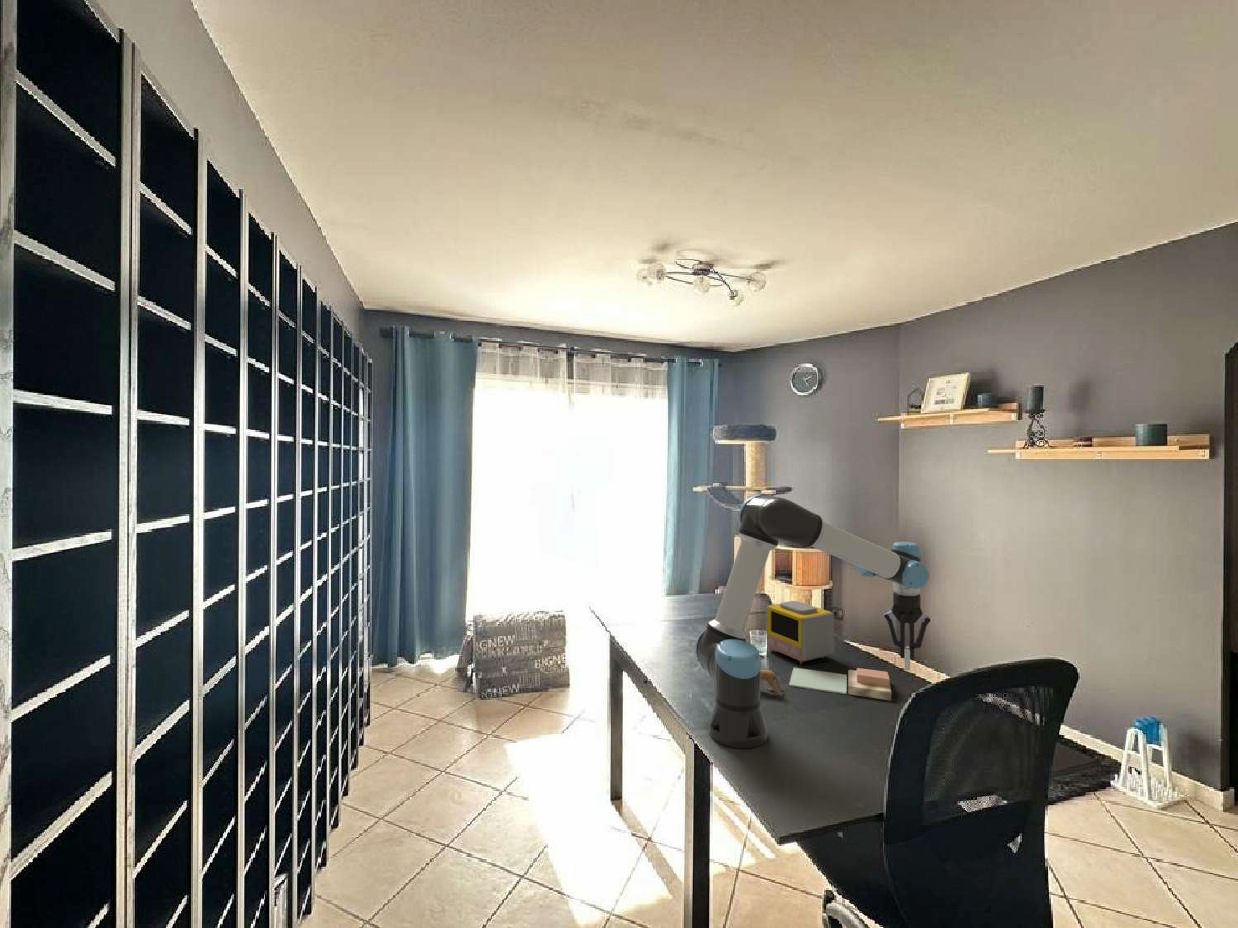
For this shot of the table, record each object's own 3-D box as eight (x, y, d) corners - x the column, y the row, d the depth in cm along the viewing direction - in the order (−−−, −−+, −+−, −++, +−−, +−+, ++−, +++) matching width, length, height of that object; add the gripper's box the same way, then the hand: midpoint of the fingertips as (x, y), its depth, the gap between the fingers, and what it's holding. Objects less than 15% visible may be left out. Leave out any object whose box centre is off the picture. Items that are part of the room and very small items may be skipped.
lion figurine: (735, 689, 177) (735, 661, 177) (738, 683, 182) (738, 655, 182) (783, 697, 172) (783, 668, 172) (785, 690, 177) (785, 662, 176)
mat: (789, 685, 180) (789, 684, 180) (793, 668, 194) (793, 667, 194) (846, 694, 173) (846, 692, 173) (846, 676, 187) (846, 674, 187)
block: (856, 682, 176) (856, 674, 176) (856, 675, 182) (856, 667, 182) (888, 686, 173) (888, 678, 173) (887, 679, 178) (887, 671, 178)
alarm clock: (763, 650, 212) (763, 601, 212) (795, 643, 219) (795, 596, 219) (802, 668, 195) (802, 615, 194) (835, 659, 202) (835, 608, 201)
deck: (848, 694, 174) (848, 686, 174) (848, 676, 187) (848, 669, 187) (891, 700, 169) (891, 692, 169) (888, 682, 182) (888, 674, 182)
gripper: (883, 593, 172) (884, 670, 173) (932, 597, 167) (932, 676, 168) (882, 588, 179) (883, 661, 180) (929, 591, 174) (929, 666, 175)
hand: (906, 668), depth 174 cm, fingers closed
